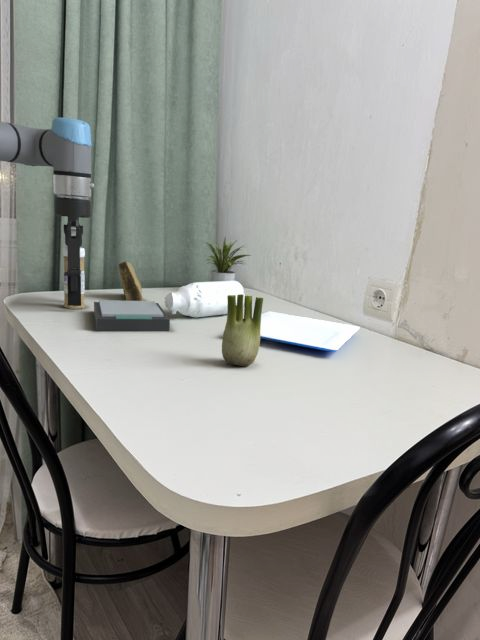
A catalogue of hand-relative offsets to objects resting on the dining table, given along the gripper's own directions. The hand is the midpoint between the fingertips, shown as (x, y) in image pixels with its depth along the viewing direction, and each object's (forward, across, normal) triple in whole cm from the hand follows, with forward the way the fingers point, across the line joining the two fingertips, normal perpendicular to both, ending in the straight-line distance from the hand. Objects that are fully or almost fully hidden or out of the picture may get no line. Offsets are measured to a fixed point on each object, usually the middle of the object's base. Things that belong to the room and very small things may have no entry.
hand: (74, 300), depth 114 cm
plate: (+2, -26, -44) cm, 51 cm away
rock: (+2, +11, -14) cm, 18 cm away
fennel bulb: (+2, -43, -26) cm, 50 cm away
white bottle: (+2, -8, -29) cm, 30 cm away
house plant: (+2, +22, -40) cm, 46 cm away
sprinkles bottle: (+2, 0, 0) cm, 2 cm away
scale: (+1, -13, -11) cm, 17 cm away
